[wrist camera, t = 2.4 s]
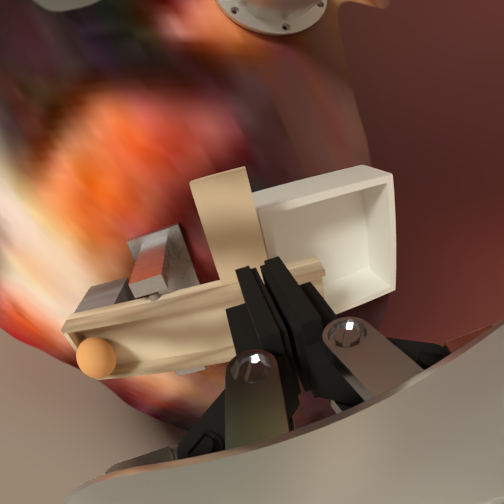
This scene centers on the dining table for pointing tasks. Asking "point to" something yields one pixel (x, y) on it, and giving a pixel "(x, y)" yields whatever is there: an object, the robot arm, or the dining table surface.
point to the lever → (186, 292)
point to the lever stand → (162, 266)
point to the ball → (96, 357)
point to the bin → (336, 230)
